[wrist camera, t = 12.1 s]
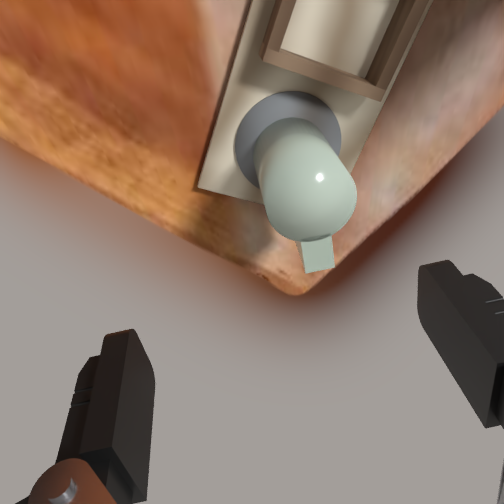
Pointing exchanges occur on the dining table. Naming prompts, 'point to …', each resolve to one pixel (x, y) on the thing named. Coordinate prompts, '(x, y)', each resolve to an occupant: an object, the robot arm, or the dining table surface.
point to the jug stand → (308, 79)
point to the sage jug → (304, 188)
